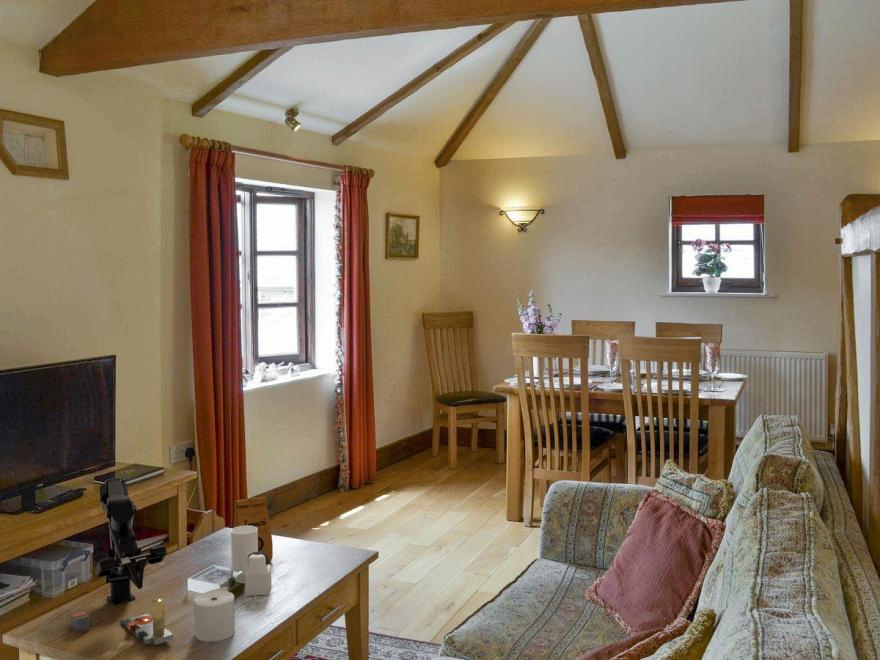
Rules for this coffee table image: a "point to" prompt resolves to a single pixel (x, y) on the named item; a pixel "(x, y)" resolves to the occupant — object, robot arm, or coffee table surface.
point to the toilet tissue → (214, 615)
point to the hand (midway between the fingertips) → (140, 588)
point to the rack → (152, 625)
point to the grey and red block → (79, 621)
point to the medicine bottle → (258, 575)
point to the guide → (124, 623)
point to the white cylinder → (243, 546)
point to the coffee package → (255, 521)
